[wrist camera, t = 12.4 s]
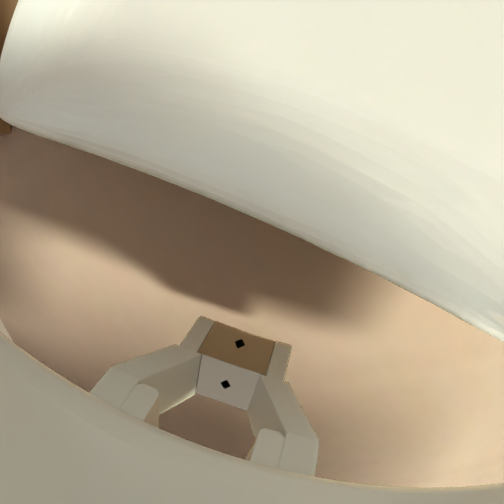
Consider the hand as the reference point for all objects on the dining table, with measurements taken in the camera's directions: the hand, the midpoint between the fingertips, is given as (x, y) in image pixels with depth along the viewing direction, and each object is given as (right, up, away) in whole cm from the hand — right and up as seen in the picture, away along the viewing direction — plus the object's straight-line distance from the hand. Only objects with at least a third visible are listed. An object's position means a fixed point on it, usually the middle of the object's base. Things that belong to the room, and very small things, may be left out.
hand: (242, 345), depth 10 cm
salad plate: (+4, +14, -5) cm, 15 cm away
